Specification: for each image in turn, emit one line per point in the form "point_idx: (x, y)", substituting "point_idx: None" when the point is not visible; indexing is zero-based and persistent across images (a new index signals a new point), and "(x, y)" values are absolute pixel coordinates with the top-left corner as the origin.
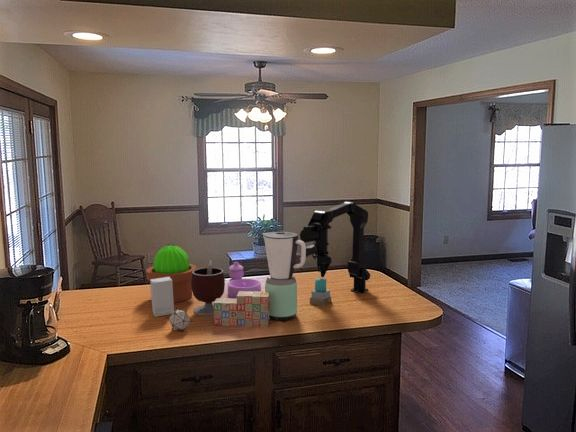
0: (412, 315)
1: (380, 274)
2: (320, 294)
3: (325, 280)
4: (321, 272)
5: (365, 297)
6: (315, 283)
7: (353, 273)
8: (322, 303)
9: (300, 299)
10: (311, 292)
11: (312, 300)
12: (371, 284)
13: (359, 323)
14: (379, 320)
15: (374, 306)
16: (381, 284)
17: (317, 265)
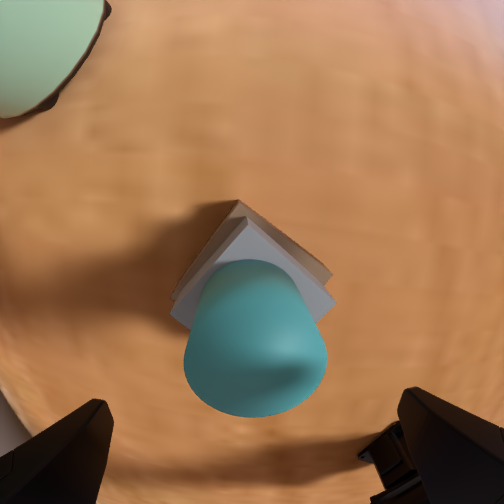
0: (116, 500)
1: None
2: (184, 293)
3: (216, 407)
4: (43, 441)
5: (303, 462)
6: (235, 289)
7: (412, 493)
8: (179, 282)
9: (328, 146)
10: (247, 223)
11: (224, 220)
12: None
13: (5, 371)
14: None
15: (184, 468)
16: None
17: (458, 439)
